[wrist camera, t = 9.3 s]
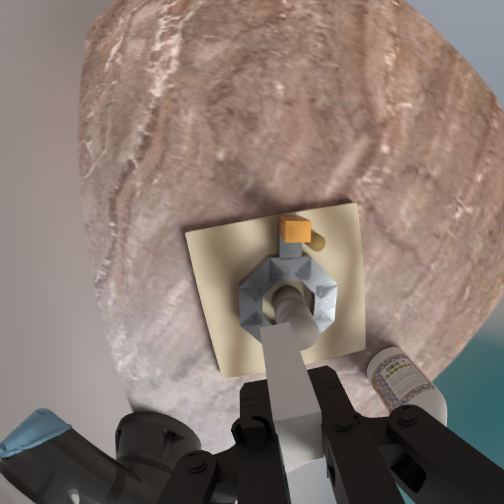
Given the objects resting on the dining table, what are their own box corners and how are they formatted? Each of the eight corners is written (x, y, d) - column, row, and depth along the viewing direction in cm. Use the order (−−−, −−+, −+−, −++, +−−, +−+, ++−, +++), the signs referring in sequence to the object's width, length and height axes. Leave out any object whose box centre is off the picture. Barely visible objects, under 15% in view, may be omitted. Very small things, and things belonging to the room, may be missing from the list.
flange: (328, 338, 35) (340, 361, 30) (240, 342, 35) (240, 368, 30) (336, 215, 32) (355, 221, 26) (237, 215, 32) (236, 221, 26)
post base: (223, 373, 38) (219, 423, 28) (187, 231, 33) (165, 249, 24) (362, 345, 38) (391, 385, 28) (353, 202, 33) (392, 208, 23)
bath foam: (356, 370, 39) (413, 469, 19) (390, 337, 38) (465, 424, 18) (380, 388, 40) (434, 476, 20) (411, 358, 39) (479, 437, 19)
